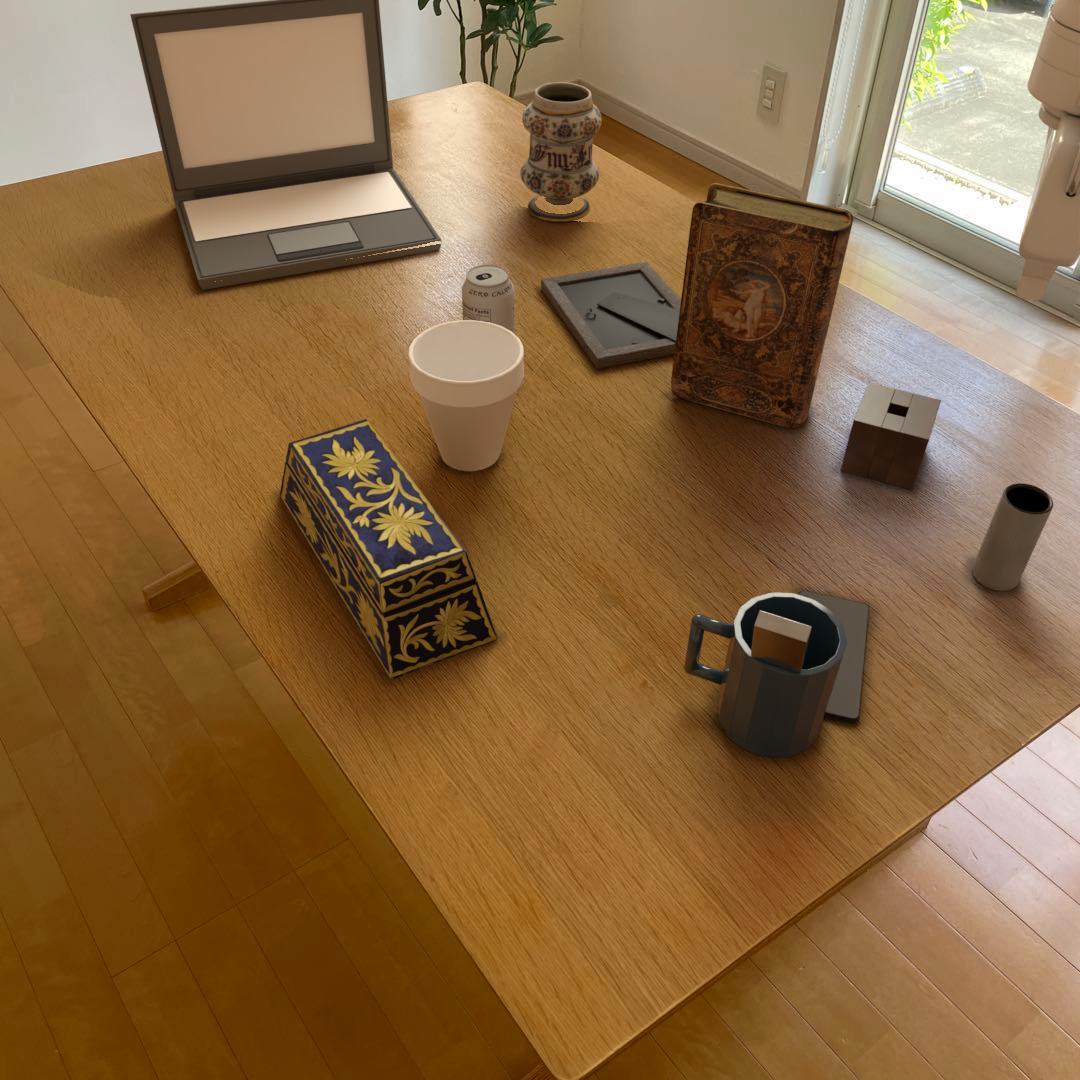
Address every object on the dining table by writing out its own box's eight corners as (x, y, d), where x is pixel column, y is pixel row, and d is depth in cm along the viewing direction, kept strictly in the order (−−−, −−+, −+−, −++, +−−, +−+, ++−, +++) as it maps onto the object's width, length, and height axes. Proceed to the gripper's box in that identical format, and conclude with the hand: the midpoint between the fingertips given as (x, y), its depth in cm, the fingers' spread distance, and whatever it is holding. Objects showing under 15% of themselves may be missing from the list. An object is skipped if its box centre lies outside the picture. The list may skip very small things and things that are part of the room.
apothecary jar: (612, 208, 166) (620, 91, 153) (561, 233, 159) (564, 113, 147) (556, 185, 172) (559, 70, 159) (504, 208, 165) (503, 91, 153)
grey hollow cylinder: (975, 554, 108) (1006, 477, 101) (1021, 568, 107) (1056, 491, 100) (968, 582, 105) (999, 504, 98) (1015, 597, 104) (1050, 519, 97)
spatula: (793, 711, 92) (812, 626, 78) (789, 725, 92) (806, 642, 77) (749, 696, 93) (759, 609, 79) (744, 709, 93) (753, 625, 79)
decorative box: (371, 464, 118) (362, 398, 112) (497, 639, 99) (496, 571, 93) (279, 494, 114) (265, 427, 108) (392, 682, 95) (383, 614, 89)
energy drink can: (523, 389, 129) (523, 279, 119) (480, 404, 127) (477, 293, 116) (499, 366, 133) (497, 257, 123) (457, 379, 130) (451, 270, 120)
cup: (420, 491, 115) (411, 387, 105) (412, 424, 123) (403, 323, 114) (531, 481, 116) (532, 378, 107) (516, 416, 125) (515, 315, 116)
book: (812, 407, 127) (858, 212, 110) (800, 432, 123) (845, 233, 106) (684, 373, 132) (708, 181, 115) (669, 395, 128) (692, 201, 111)
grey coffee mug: (830, 696, 95) (857, 612, 87) (805, 772, 89) (832, 689, 81) (696, 651, 98) (711, 566, 91) (664, 721, 92) (677, 637, 85)
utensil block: (924, 449, 121) (941, 399, 116) (912, 490, 116) (929, 439, 111) (855, 431, 124) (869, 382, 119) (840, 470, 118) (853, 420, 113)
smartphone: (870, 603, 103) (859, 721, 92) (868, 610, 103) (857, 727, 92) (798, 588, 104) (780, 702, 93) (797, 594, 105) (778, 708, 94)
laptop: (200, 290, 145) (151, 79, 126) (175, 206, 164) (129, 12, 145) (441, 249, 155) (430, 47, 136) (392, 175, 174) (376, -12, 154)
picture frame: (711, 347, 137) (646, 271, 151) (713, 333, 135) (647, 258, 150) (596, 369, 132) (541, 289, 147) (597, 355, 131) (541, 276, 146)
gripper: (1156, 136, 60) (1069, 345, 69) (1163, 31, 73) (1090, 218, 83) (1039, 117, 62) (970, 323, 71) (1067, 18, 75) (1006, 202, 85)
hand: (1035, 265), depth 77 cm, fingers open, 8 cm apart
